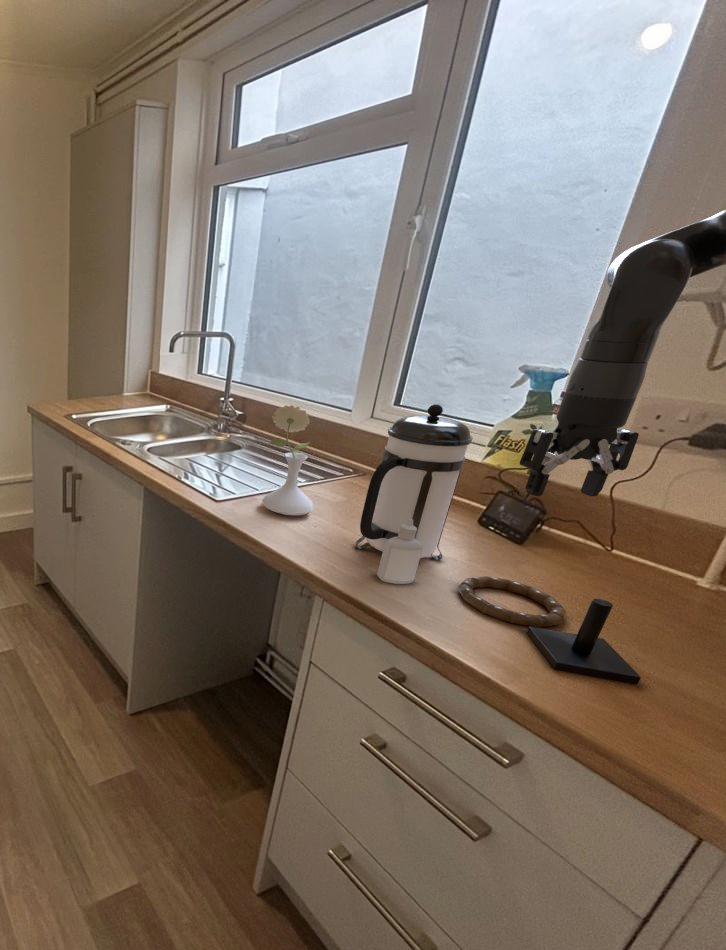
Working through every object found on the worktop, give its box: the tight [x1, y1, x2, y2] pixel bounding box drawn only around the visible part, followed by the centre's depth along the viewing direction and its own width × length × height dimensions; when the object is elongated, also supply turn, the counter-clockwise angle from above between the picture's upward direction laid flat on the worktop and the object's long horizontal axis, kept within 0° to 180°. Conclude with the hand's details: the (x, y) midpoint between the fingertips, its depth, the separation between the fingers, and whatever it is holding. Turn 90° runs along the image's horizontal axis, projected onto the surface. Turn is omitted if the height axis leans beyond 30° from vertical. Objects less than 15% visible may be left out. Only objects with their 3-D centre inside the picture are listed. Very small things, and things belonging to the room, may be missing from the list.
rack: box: [526, 598, 642, 685], centre depth 74 cm, size 9×9×9 cm
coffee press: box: [355, 403, 473, 561], centre depth 99 cm, size 17×16×30 cm
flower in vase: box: [262, 404, 315, 516], centre depth 122 cm, size 13×11×25 cm
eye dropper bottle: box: [376, 519, 423, 585], centre depth 94 cm, size 4×6×12 cm
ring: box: [457, 575, 567, 628], centre depth 88 cm, size 14×14×2 cm
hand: (561, 494), depth 83 cm, fingers open, 8 cm apart
